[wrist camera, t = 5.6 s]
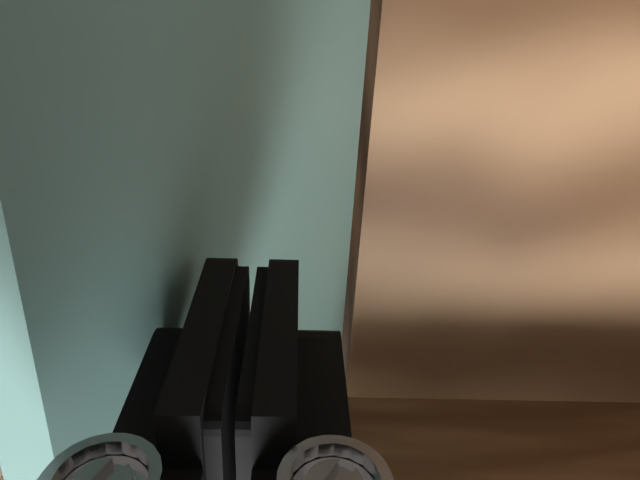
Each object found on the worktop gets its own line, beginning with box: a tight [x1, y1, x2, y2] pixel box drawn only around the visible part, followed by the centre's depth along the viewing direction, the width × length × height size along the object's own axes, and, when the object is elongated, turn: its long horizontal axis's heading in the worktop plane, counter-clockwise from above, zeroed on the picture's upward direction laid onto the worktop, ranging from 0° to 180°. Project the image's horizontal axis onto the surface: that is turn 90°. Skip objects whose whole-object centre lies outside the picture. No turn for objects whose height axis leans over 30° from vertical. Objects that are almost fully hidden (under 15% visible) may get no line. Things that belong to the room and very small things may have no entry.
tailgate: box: [0, 0, 371, 480], centre depth 13 cm, size 19×2×12 cm, turn 177°
